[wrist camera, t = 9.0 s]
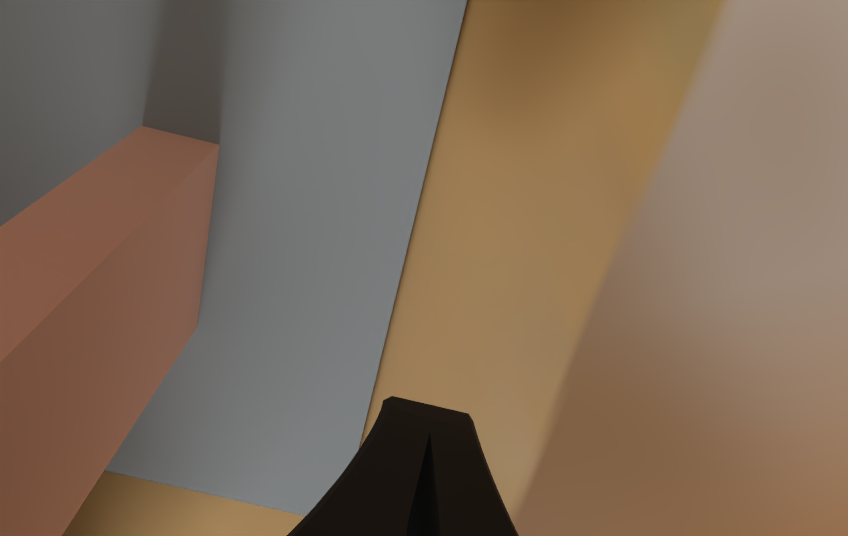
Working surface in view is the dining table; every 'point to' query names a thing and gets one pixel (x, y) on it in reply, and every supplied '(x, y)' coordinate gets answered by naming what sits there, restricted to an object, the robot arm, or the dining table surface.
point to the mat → (249, 205)
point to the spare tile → (95, 316)
